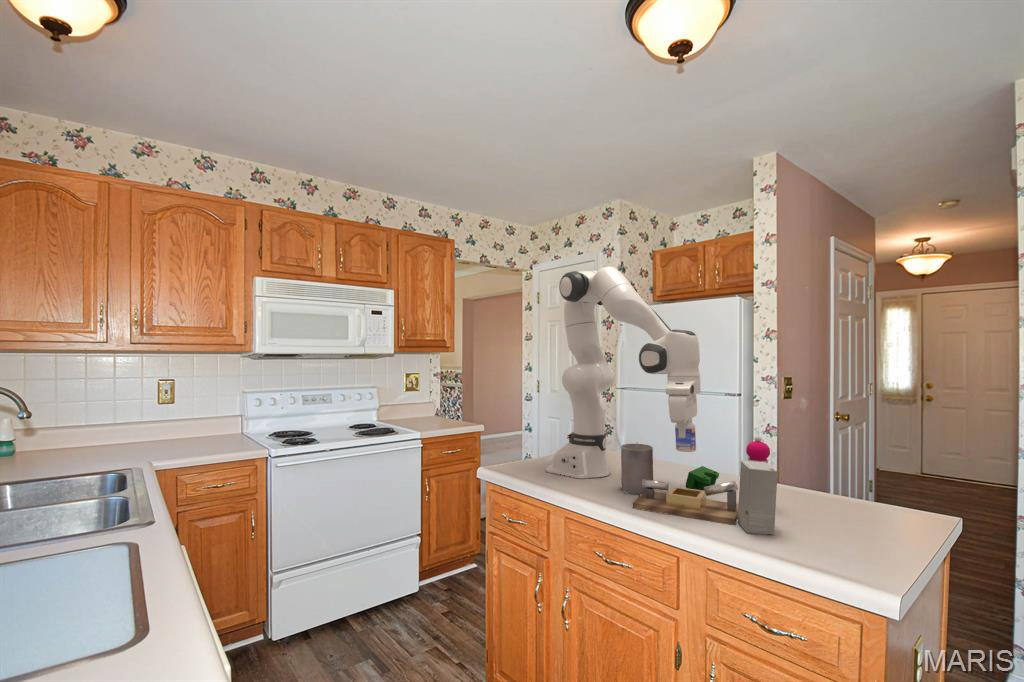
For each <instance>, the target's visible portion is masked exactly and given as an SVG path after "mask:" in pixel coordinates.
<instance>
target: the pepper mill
mask: <svg viewBox="0 0 1024 682" xmlns="http://www.w3.org/2000/svg"><path fill="white" fill-rule="evenodd" d="M762 440H763V439H762V437H761V436H760V435H755V436H754V441H750V442H749V443H748V444H747V446H746V447H745V452H746V454H747V456H748V460H747V461H756V462H766V463H768V464H769V460H768V458H769V457H770V456H771V448H770V446H769V445H768V444H767V443H765V442H764V441H762Z"/></svg>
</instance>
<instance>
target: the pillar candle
mask: <svg viewBox="0 0 1024 682" xmlns="http://www.w3.org/2000/svg"><path fill="white" fill-rule="evenodd" d="M620 449H621V450H620V455H621V459H620V461H621V463H620V465H621V470H620V471H621V472H620V473H621V477H620V478H621V479H620V480H621V481H620V482H621V483H620V485H621V491H622V490H623V491H625V492H624V493H626V492H628V493H627V494H629V493H632V494H631V495H642V494H643V493H644V492H645V491H646V488H645V487H642V480H643V479H650V480H654V455H653V452H654V449H653V446H652V445H649V444H645V443H644V444H643V443H638V442H636V443H625V444H622V445H621V447H620ZM623 491H622V492H623Z"/></svg>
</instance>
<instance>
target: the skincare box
mask: <svg viewBox="0 0 1024 682" xmlns="http://www.w3.org/2000/svg"><path fill="white" fill-rule="evenodd" d="M739 471H740V472H739V488H738V490H739V492H738V503H737V504H738V519H737V523H738V524H739V525H740V526H741V528H742V529H743V530H744V532H746V533H747V534H757V535H767V534H772V535H771V536H774V535H775V526H776V523H775V522H776V508H777V507H776V506H777V492H778V491H777V488H778V474H779V473H778V470H777V469H775V468H774V466H773V465H770V464H769V462H768V463H766V462H756V461H749V460H743V459H742V460H740V470H739Z"/></svg>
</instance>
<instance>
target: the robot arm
mask: <svg viewBox="0 0 1024 682" xmlns="http://www.w3.org/2000/svg"><path fill="white" fill-rule="evenodd" d="M558 287H559V292H560V295H561V297H562V298H563V300H565V302H564V307H563V308H564V309H563V310H564V311H563V314H564V315H563V318H564V328H565V332H566V333H565V334H566V340H567V345H568V350H569V351H570V353H572V354H573V356H574V359H575V360H576V364H574V365H571V366H569V367H567V368H566V369H565V370H564V371H563V373H562V376H561V383H562V386H563V388H564V390H565V391H567V393H568V395H569V399H570V403H571V406H572V414H573V416H572V417H573V418H572V419H573V431H572V432H571V433H569V434H567V435H566V438H567V439H568V442H567V443H566V444H565V445H563V446H562V447H560V448H559V449H558V450H556V452H554V455H553V458H552V463H551V464H550V465H548V466H546V468H545V472H546V473H551V474H555V475H560V474H561V475H560V476H564V475H565V477H569V476H571V477H570V478H574V477H575V479H588V478H592V479H593V478H601V477H603V478H604V477H607V476H609V475H610V470H609V466H608V460H607V455H606V454H607V452H606V450H607V434H606V413H605V410H604V408H603V407H602V405H601V402H600V399H599V398H600V397H599V394H601V393H604V392H606V391H608V390H609V389H610V388H611V387H612V386H613V385H614V383H615V380H616V375H615V372H614V371H613V369H612V368H611V367H610V365H609V364H608V362H607V360H606V357H605V355H604V352H603V349H602V348H601V344H600V340H599V334H598V328H597V323H596V317H595V306H597V305H598V306H603V308H604V309H605V311H606V312H607V313H608V314H609V315H610V316H611V318H613V319H614V320H616V321H619V322H621V323H625V324H629V325H633V326H635V327H638V328H640V329H642V330H643V331H644V332H646V333H647V334H648V336H650V338H651V340H653V341H651V342H647V343H645V344H644V345H643V346H642V347H641V348H640V351H639V354H638V363H639V366H640V368H641V369H642V370H643V371H644V372H645V373H646V374H650V375H666V376H667V377H666V378H667V379H666V380H667V383H666V387H665V394H666V395H668V396H667V399H668V400H667V403H668V413H669V419H670V423H673V424H677V427H678V431H679V437H680V438H685V437H686V422H687V421H688V420H690V419H691V416H692V419H693V418H695V417H697V415H698V401H697V394H701V392H702V391H701V373H700V370H699V365H700V360H701V357H700V353H701V352H700V345H699V339H698V336H697V334H696V333H695V332H694V331H690V330H686V329H685V330H684V329H671V328H670V327H669V325H667V323H666V322H665V321H664V319H662V318H661V316H660V315H659V314H658V313H657V312H656V311H655V310H654V309H653V308H652V307H651V306H650V305H649V304H648V303H647V302H646V301H645V300H644V299H643V298H642V297H641V296H640V295H639V294H638V292H637V291H636V290H635V288H634V287H633V285H632V284H631V282H630V281H629V280H628V279H627V277H625V276H624V275H623V273H622V272H621V271H620V270H618V269H617V268H616V267H614V266H604V267H602V268H600V269H599V270H592V269H591V270H580V271H579V270H578V271H575V270H573V271H568V272H566V273H564V274H563V275H562V277H561V279H560V281H559V286H558ZM691 423H693V420H692V421H691Z"/></svg>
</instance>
